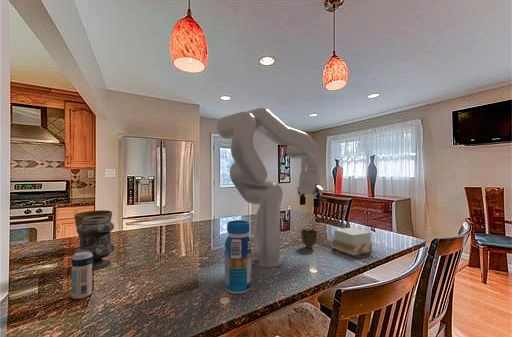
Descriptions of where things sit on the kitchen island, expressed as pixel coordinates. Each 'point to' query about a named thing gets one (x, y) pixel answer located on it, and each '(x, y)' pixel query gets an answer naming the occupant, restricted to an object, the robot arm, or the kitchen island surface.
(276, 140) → the robot arm
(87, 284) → the white pill bottle
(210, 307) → the kitchen island surface
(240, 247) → the beverage bottle
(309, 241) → the dark brown tapered piece
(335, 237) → the tower top
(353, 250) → the box
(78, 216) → the plant pot
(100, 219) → the dark grey carved vase
